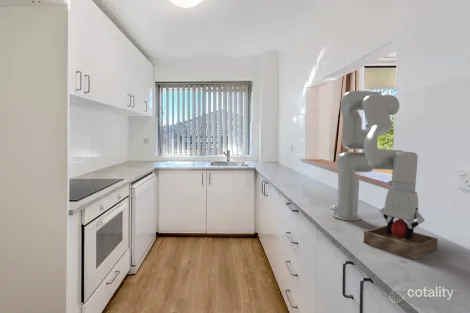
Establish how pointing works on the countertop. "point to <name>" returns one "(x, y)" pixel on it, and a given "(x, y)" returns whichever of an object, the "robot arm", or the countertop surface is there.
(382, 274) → the countertop surface
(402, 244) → the holder tray
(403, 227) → the onion
